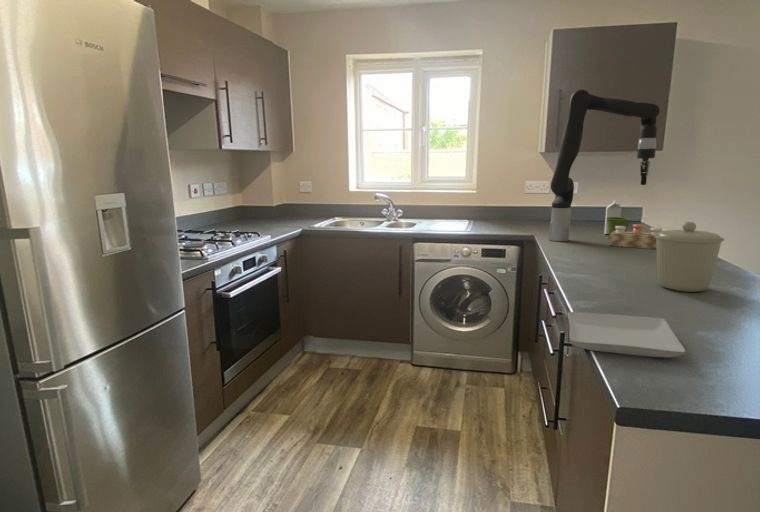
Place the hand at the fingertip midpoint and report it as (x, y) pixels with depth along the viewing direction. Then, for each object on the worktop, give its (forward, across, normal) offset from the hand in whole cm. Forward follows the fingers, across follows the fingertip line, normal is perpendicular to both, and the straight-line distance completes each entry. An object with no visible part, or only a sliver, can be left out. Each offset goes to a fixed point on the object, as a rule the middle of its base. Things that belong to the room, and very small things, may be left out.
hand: (643, 184), depth 221 cm
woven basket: (+29, +7, 0) cm, 30 cm away
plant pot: (+29, -11, -11) cm, 33 cm away
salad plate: (+30, +147, +11) cm, 150 cm away
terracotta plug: (+27, +7, 0) cm, 28 cm away
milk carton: (+29, -29, -16) cm, 44 cm away
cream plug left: (+28, +7, -7) cm, 30 cm away
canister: (+29, +87, +21) cm, 94 cm away
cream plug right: (+28, +7, +8) cm, 30 cm away
